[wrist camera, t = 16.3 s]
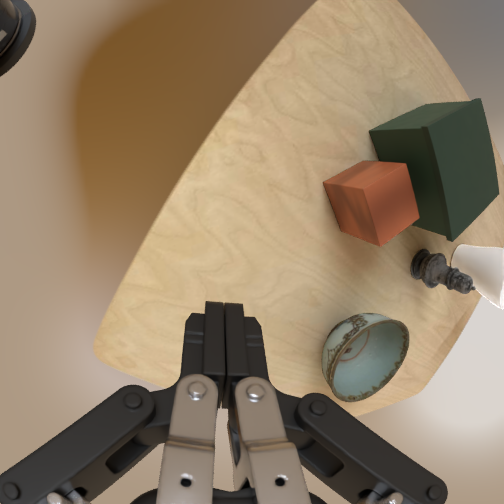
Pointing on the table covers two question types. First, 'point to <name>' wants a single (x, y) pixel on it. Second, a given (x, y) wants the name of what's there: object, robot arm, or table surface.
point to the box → (443, 162)
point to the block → (373, 200)
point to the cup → (483, 270)
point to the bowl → (363, 355)
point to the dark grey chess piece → (439, 272)
